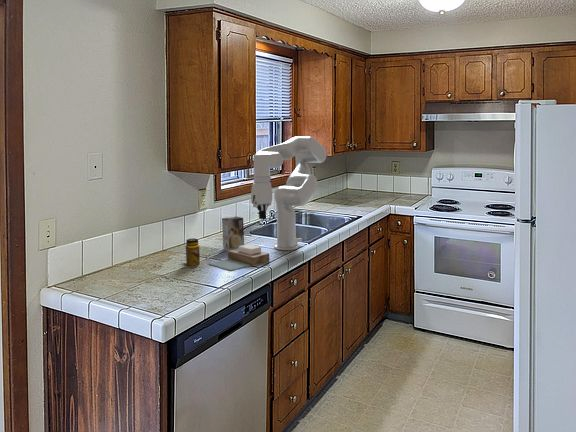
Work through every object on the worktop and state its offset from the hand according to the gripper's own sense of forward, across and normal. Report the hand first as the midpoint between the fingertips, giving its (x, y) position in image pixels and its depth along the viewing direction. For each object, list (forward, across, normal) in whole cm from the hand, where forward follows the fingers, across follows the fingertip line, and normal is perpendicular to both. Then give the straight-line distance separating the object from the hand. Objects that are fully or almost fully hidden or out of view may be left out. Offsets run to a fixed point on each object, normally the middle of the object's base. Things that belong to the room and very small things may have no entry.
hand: (262, 218), depth 259 cm
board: (+19, +9, 0) cm, 21 cm away
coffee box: (+19, -1, -23) cm, 30 cm away
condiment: (+19, +32, -13) cm, 40 cm away
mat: (+19, +20, 0) cm, 28 cm away
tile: (+15, +8, 0) cm, 17 cm away
